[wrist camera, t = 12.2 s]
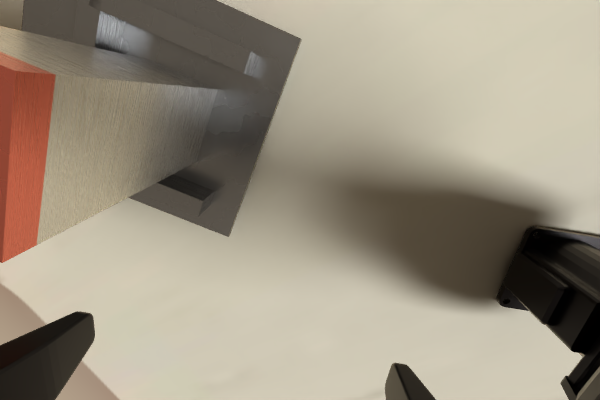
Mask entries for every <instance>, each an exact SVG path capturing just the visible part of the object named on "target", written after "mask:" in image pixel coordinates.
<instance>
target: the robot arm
mask: <svg viewBox="0 0 600 400" xmlns="http://www.w3.org/2000/svg"><path fill="white" fill-rule="evenodd" d="M536 232H537V234H536V235H535V236H533V235H534V233H536ZM496 299H497V302H498V303H499V304H500V305H501V306H503V307H508V308H514V309H520V310H527V311H530V312H531V313H532V314H533V315H534V316H535V317H536V318H537V319H538V320H539V321H540V322H541V323H542V324H544V325H546V326H547V327H548V328H549V329H550V330H551V331H552V332H553V333H554V334H555V335H556V336H557V337H558V338H559V339H560V340H561V341H562V342H563V343H564V344H565V345H566V346H567V347H568V348H569V349H570V350H571V351H573V352H577V353H579V354H580V355H581V356H582V357H583V358H582V359H581V360H580V362H579V363H578V364H577V365H576V367H575V368H574V369H573V371H572V372H571V373H570V375H569V376H565V377H564V379H563V380H562V381H561V385H562V387H563V389H564V391H565V393H566V395H567V397H568V399H569V400H600V236H594V235H588V234H581V233H575V232H569V231H563V230H556V229H550V228H544V227H538V226H533V227H530V228H529V229H527V231H526V233H525V235H524V237H523V239H522V242H521V244H520V246H519V248H518V251H517V253H516V255H515V257H514V260H513V262H512V264H511V266H510V268H509V271H508V273H507V275H506V277H505V280H504V282H503V284H502V286H501V289H500V291H499V293H498V295H497V298H496ZM504 299H506V300H504ZM503 300H504V301H503ZM94 338H95V330H94V320H93V316H92V314H90V313H86V312H74V313H72V314H70V315H67V316H65V317H63V318H61V319H58V320H56V321H54V322H52V323H49V324H47V325H45V326H43V327H40V328H38V329H36V330H34V331H32V332H29V333H27V334H25V335H23V336H20V337H18V338H16V339H14V340H11V341H9V342H7V343H5V344H2V345H0V400H55V399H56V398H57V396H58V395H59V393H60V392H61V390H62V389H63V387H64V386H65V385H66V383H67V381H68V380H69V378H70V377H71V375H72V374H73V372H74V371H75V369H76V368H77V366H78V365H79V363H80V361H81V360H82V358H83V357H84V355H85V354H86V352H87V351H88V349H89V348H90V346H91V345H92V343H93V341H94ZM385 394H386V400H436V399H435V398H434V397H433V395H432V394H431V393H430V392H429V391H428V389H427V388H426V387H425V386H424V385H423V383H422V382H421V381H420V380H419V378H418V377H417V376H416V375H415V374H414V372H413V371H412V370H411V369H410V368H409V367H408V366H407V365H405V364H399V363H393V364H392V366H391V368H390V371H389V374H388V377H387V380H386V384H385Z"/></svg>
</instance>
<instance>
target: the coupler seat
mask: <svg viewBox="0 0 600 400" xmlns="http://www.w3.org/2000/svg"><path fill="white" fill-rule="evenodd" d="M22 31H25V32H29V33H34V34H38V35H43V36H47V37H51V38H56V39H60V40H64V41H69V42H73V43H78V44H82V45H86V46H91V47H95V48H99V49H104V50H108V51H113V52H117V53H121V54H126V55H130V56H134V57H139V58H143V59H148V60H150V61H153V62H155V63H157V64H160V65H162V66H164V67H167V68H169V69H171V70H174V71H176V72H178V73H181V74H183V75H185V76H188V77H190V78H192V79H195V80H197V81H199V82H202V83H204V84H206V85H209V86H211V87H213V88H216V89H218V90H217V93H216V96H215V100H214V103H213V107H212V110H211V114H210V117H209V120H208V124H207V127H206V131H205V134H204V137H203V141H202V144H201V148H200V151H199V155H198V158H197V161H196V162H195V163H194V164H192V165H190V166H188V167H186V168H184V169H182V170H180V171H178V172H176V173H174V174H172V175H170V176H169V177H167V178H165V179H163V180H161V181H159V182H157V183H155V184H153V185H151V186H149V187H147V188H145V189H143V190H142V191H140V192H138V193H136V194H134V195H132V196H130V197H129V198H131V199H134V200H136V201H139V202H141V203H144V204H146V205H149V206H151V207H154V208H157V209H159V210H162V211H164V212H167V213H169V214H172V215H174V216H177V217H179V218H182V219H184V220H187V221H190V222H192V223H195V224H197V225H200V226H202V227H205V228H207V229H210V230H212V231H215V232H218V233H220V234H223V235H225V236H228V237H229V235H230V233H231V230H232V228H233V225H234V222H235V220H236V217H237V214H238V211H239V209H240V206H241V203H242V201H243V198H244V195H245V192H246V190H247V187H248V184H249V182H250V179H251V176H252V173H253V171H254V168H255V165H256V162H257V160H258V157H259V154H260V152H261V149H262V146H263V143H264V141H265V138H266V135H267V133H268V130H269V127H270V124H271V122H272V119H273V116H274V114H275V111H276V108H277V105H278V103H279V100H280V97H281V95H282V92H283V89H284V86H285V84H286V81H287V78H288V75H289V73H290V70H291V67H292V65H293V62H294V59H295V56H296V54H297V51H298V48H299V46H300V43H301V39H300V38H298V37H296V36H294V35H291V34H289V33H287V32H285V31H283V30H280V29H278V28H276V27H274V26H272V25H269V24H267V23H265V22H263V21H260V20H258V19H256V18H254V17H252V16H249V15H247V14H245V13H243V12H241V11H238V10H236V9H234V8H232V7H230V6H227V5H225V4H223V3H221V2H219V1H216V0H24V9H23V23H22Z"/></svg>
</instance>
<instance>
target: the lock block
mask: <svg viewBox="0 0 600 400" xmlns="http://www.w3.org/2000/svg"><path fill="white" fill-rule="evenodd" d="M217 90H218V89H216V88H213V87H211V86H209V85H206V84H204V83H202V82H199V81H197V80H195V79H192V78H190V77H188V76H185V75H183V74H181V73H178V72H176V71H174V70H171V69H169V68H167V67H164V66H162V65H160V64H157V63H155V62H153V61H150V60H148V59H143V58H139V57H134V56H130V55H126V54H121V53H117V52H113V51H108V50H104V49H99V48H95V47H91V46H86V45H82V44H78V43H73V42H69V41H64V40H60V39H56V38H51V37H47V36H43V35H38V34H34V33H29V32H25V31H21V30H16V29H12V28H8V27H3V26H0V262H1V263H3V262H5V261H7V260H9V259H11V258H13V257H14V256H16V255H18V254H20V253H22V252H24V251H26V250H28V249H30V248H32V247H34V246H36V245H38V244H40V243H41V242H43V241H45V240H47V239H49V238H51V237H53V236H55V235H57V234H59V233H61V232H63V231H65V230H66V229H68V228H70V227H72V226H74V225H76V224H78V223H80V222H82V221H84V220H86V219H88V218H90V217H92V216H93V215H95V214H97V213H99V212H101V211H103V210H105V209H107V208H109V207H111V206H113V205H115V204H117V203H118V202H120V201H122V200H124V199H126V198H128V197H130V196H132V195H134V194H136V193H138V192H140V191H142V190H143V189H145V188H147V187H149V186H151V185H153V184H155V183H157V182H159V181H161V180H163V179H165V178H167V177H169V176H170V175H172V174H174V173H176V172H178V171H180V170H182V169H184V168H186V167H188V166H190V165H192V164H194V163H195V162H196V161H197V158H198V155H199V151H200V148H201V144H202V141H203V137H204V134H205V131H206V127H207V124H208V120H209V117H210V114H211V110H212V107H213V103H214V100H215V96H216V93H217Z"/></svg>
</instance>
